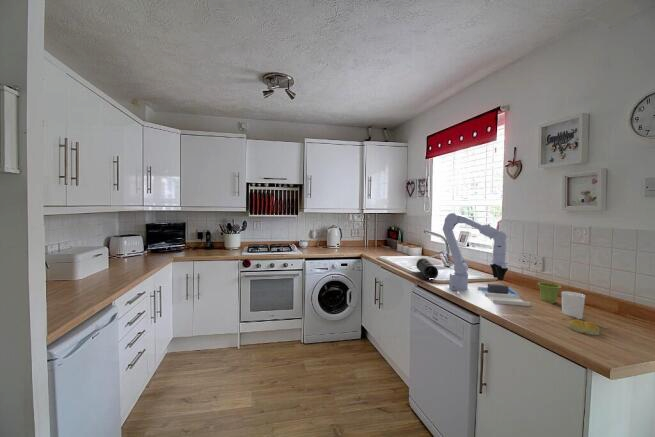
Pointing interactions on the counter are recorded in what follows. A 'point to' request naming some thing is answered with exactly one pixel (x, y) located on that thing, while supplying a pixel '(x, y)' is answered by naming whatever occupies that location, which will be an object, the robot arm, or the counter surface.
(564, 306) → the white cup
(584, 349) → the counter surface
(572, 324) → the bread roll
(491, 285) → the dark gray rectangular block
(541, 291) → the plant pot
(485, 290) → the tray
